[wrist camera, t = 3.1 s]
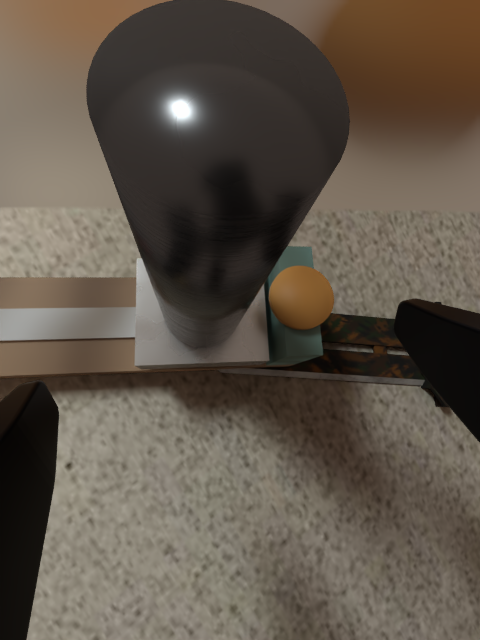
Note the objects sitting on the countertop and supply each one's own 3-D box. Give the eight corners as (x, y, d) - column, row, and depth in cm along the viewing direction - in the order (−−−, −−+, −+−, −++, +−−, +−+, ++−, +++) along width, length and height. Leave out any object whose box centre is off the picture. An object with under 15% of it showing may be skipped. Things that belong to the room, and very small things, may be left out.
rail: (289, 286, 20) (327, 242, 15) (296, 366, 19) (340, 353, 13) (-97, 287, 17) (-241, 232, 11) (-116, 383, 16) (-285, 375, 10)
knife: (176, 366, 19) (174, 363, 17) (195, 264, 20) (195, 254, 19) (560, 426, 21) (585, 429, 20) (551, 331, 23) (573, 327, 21)
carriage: (254, 274, 18) (396, -9, 5) (260, 364, 17) (457, 269, 4) (143, 274, 17) (6, -65, 5) (141, 369, 16) (-46, 266, 3)
